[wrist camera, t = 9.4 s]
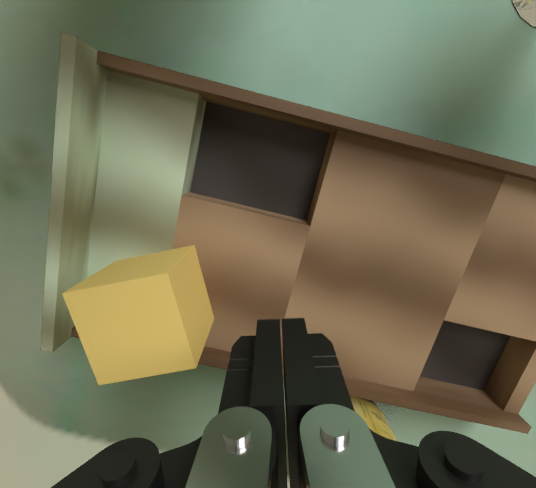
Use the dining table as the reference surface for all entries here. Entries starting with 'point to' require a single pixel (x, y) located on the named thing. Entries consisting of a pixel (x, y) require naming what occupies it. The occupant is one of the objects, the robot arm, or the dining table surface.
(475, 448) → the robot arm
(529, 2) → the wineglass
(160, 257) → the mustard block
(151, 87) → the trap deck
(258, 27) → the dining table surface
